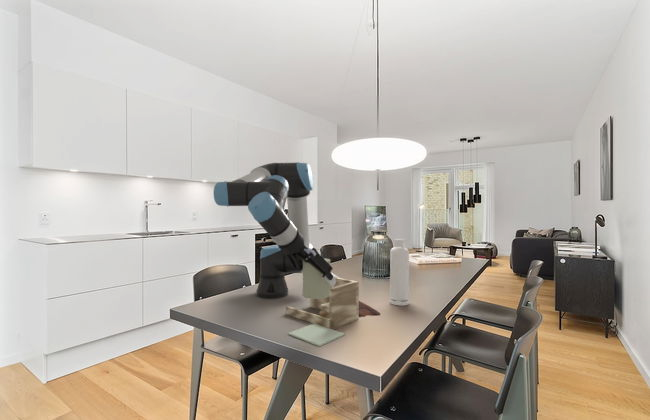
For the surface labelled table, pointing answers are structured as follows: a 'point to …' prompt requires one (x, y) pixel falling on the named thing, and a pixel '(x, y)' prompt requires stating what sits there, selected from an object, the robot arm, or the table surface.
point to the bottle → (399, 273)
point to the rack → (334, 305)
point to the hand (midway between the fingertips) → (323, 282)
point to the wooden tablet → (366, 310)
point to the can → (314, 282)
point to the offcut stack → (325, 310)
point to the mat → (316, 334)
